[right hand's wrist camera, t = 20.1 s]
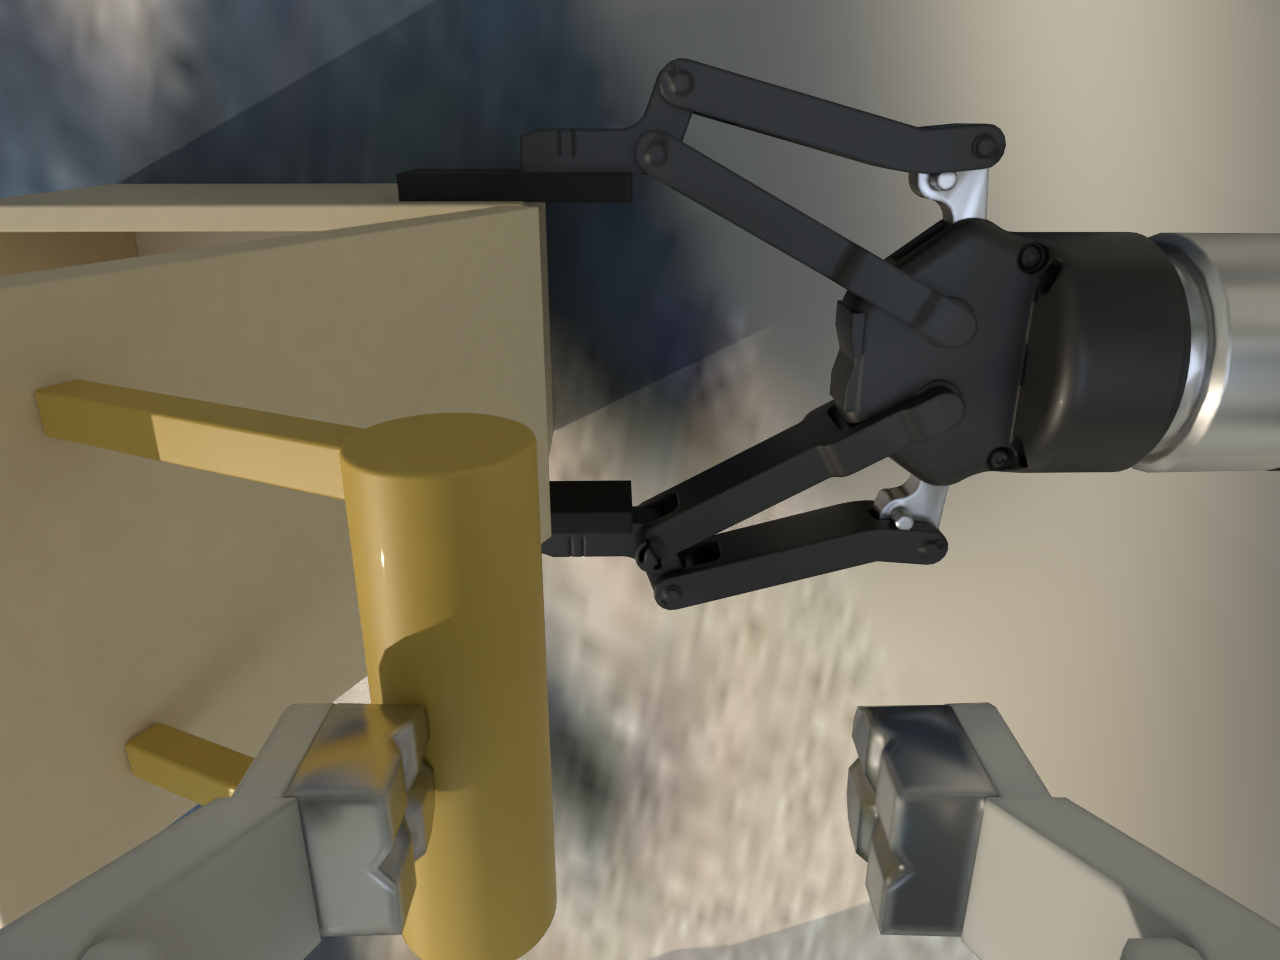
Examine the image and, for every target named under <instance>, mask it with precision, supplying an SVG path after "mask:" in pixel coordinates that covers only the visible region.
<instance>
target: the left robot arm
mask: <svg viewBox="0 0 1280 960" xmlns="http://www.w3.org/2000/svg"><path fill="white" fill-rule="evenodd" d="M692 113H693V114H696V115H700V116H703V117H706V118H710V119H713V120H717V121H720V122H724V123H727V124H731V125H734V126H738V127H741V128H745V129H748V130H751V131H755V132H758V133H762V134H765V135H769V136H772V137H776V138H779V139H782V140H786V141H789V142H793V143H796V144H800V145H803V146H807V147H810V148H814V149H817V150H820V151H824V152H827V153H831V154H835V155H838V156H841V157H845V158H848V159H852V160H855V161H858V162H862V163H865V164H869V165H873V166H877V167H882V168H887V169H892V170H898V171H904V172H909V185H910V187H911V190H912V191H913V192H914V193H915V194H916V195H918V196H920V197H924V198H927V199H932V200H934V201H936V202H937V203H938V204H939V205H940V207H941V209H942V213H943V219H942V220H940V221H939V222H937V223H936V224H934V225H933V226H931V227H930V228H929V229H927V230H926V231H924V232H923V233H921V234H920V235H919V236H917V237H916V238H914V239H913V240H911V241H910V242H908V243H907V244H906V245H904V246H903V247H901V248H900V249H898V250H897V251H895V252H894V253H893V254H891V255H890V256H888V257H887V258H885V259H884V260H883V259H881V258H879V257H878V256H876V255H874V254H873V253H871V252H869V251H867V250H866V249H864V248H862V247H860V246H859V245H857V244H855V243H853V242H852V241H850V240H848V239H846V238H845V237H843V236H841V235H840V234H838V233H836V232H835V231H833V230H831V229H830V228H828V227H826V226H824V225H823V224H821V223H819V222H818V221H816V220H814V219H813V218H811V217H809V216H807V215H806V214H804V213H802V212H801V211H799V210H797V209H796V208H794V207H792V206H790V205H789V204H787V203H785V202H784V201H782V200H780V199H779V198H777V197H775V196H773V195H772V194H770V193H768V192H767V191H765V190H763V189H761V188H760V187H758V186H756V185H755V184H753V183H751V182H750V181H748V180H746V179H744V178H743V177H741V176H739V175H738V174H736V173H734V172H733V171H731V170H729V169H727V168H726V167H724V166H722V165H721V164H719V163H717V162H716V161H714V160H712V159H710V158H709V157H707V156H705V155H704V154H702V153H700V152H699V151H697V150H695V149H693V148H692V147H690V146H688V145H687V144H685V143H683V142H682V141H683V138H684V135H685V132H686V130H687V127H688V124H689V121H690V118H691V116H692ZM1005 146H1006V142H1005V136H1004V134H1003V132H1002V131H1001V129H1000V128H998V127H996V126H995V125H992V124H959V123H955V124H944V125H934V126H923V127H915V126H912V125H908V124H905V123H902V122H898V121H895V120H891V119H888V118H885V117H881V116H878V115H875V114H871V113H868V112H864V111H861V110H858V109H854V108H851V107H848V106H844V105H841V104H838V103H834V102H831V101H828V100H824V99H821V98H817V97H814V96H811V95H807V94H804V93H801V92H797V91H794V90H790V89H787V88H784V87H780V86H777V85H774V84H770V83H767V82H764V81H760V80H757V79H753V78H750V77H747V76H743V75H740V74H737V73H733V72H730V71H726V70H723V69H720V68H716V67H713V66H709V65H706V64H703V63H700V62H696V61H693V60H689V59H682V58H678V59H675V60H673V61H670V62H669V63H668V64H667V65H666V66H665V67H664V68H663V69H662V70H661V71H660V72H659V74H658V77H657V79H656V82H655V85H654V88H653V91H652V94H651V97H650V100H649V103H648V106H647V109H646V111H645V113H644V115H643V117H642V118H641V119H640V121H639V122H637V123H636V124H635V125H633V126H631V127H629V128H624V129H537V130H534V131H532V132H530V133H527V134H525V135H523V136H520V152H521V169H414V170H410V171H406V172H402V173H398V174H397V185H398V196H399V202H428V201H523V202H626V203H632V175H650V176H651V177H653V178H655V179H657V180H658V181H660V182H662V183H664V184H665V185H667V186H669V187H671V188H672V189H674V190H676V191H678V192H679V193H681V194H683V195H685V196H686V197H688V198H690V199H692V200H693V201H695V202H697V203H698V204H700V205H702V206H704V207H705V208H707V209H709V210H711V211H712V212H714V213H716V214H718V215H719V216H721V217H723V218H725V219H726V220H728V221H730V222H732V223H733V224H735V225H737V226H738V227H740V228H742V229H744V230H745V231H747V232H749V233H751V234H752V235H754V236H756V237H758V238H759V239H761V240H763V241H765V242H766V243H768V244H770V245H772V246H773V247H775V248H777V249H779V250H780V251H782V252H784V253H786V254H787V255H789V256H791V257H793V258H794V259H796V260H798V261H799V262H801V263H803V264H805V265H806V266H808V267H810V268H812V269H813V270H815V271H817V272H819V273H820V274H822V275H824V276H826V277H827V278H829V279H831V280H832V281H834V282H836V283H837V284H839V285H840V286H842V287H844V288H845V289H847V292H846V294H845V296H844V298H843V300H842V301H840V300H839V301H837V312H836V329H837V335H838V340H839V345H840V349H839V352H838V355H837V358H836V361H835V363H834V366H833V369H832V373H831V385H830V395H831V396H832V397H833V398H834V400H832V401H830V402H828V403H826V404H824V405H822V406H820V407H818V408H816V409H814V410H813V411H811V412H810V413H808V414H807V415H806V416H805V418H804V419H803V420H802V421H801V422H800V423H798V424H796V425H794V426H792V427H790V428H789V429H787V430H785V431H783V432H781V433H779V434H777V435H775V436H773V437H771V438H769V439H767V440H765V441H763V442H761V443H759V444H757V445H755V446H753V447H751V448H749V449H747V450H745V451H743V452H741V453H739V454H737V455H735V456H733V457H731V458H729V459H727V460H725V461H723V462H721V463H720V464H718V465H716V466H714V467H712V468H710V469H708V470H706V471H704V472H702V473H700V474H698V475H696V476H694V477H692V478H690V479H688V480H686V481H684V482H682V483H680V484H678V485H676V486H674V487H672V488H670V489H668V490H666V491H664V492H662V493H660V494H658V495H656V496H654V497H652V498H650V499H649V500H647V501H645V502H643V503H641V504H640V505H639V506H632V494H631V481H549V488H550V513H551V537H550V538H548V539H547V540H546V541H544V542H543V543H542V544H541V553H543V554H546V555H549V556H552V557H569V556H572V557H582V556H584V557H590V556H626V557H631V558H634V559H636V562H637V565H638V566H639V567H640V568H641V569H642V570H644V571H646V573H647V575H648V578H649V580H650V583H651V585H652V588H653V590H654V596H655V600H656V602H657V604H658V605H660V606H661V607H662V608H664V609H668V610H676V609H681V608H685V607H689V606H693V605H697V604H701V603H705V602H710V601H714V600H718V599H722V598H726V597H730V596H734V595H739V594H743V593H747V592H751V591H755V590H759V589H763V588H768V587H772V586H776V585H780V584H784V583H788V582H792V581H797V580H801V579H805V578H809V577H813V576H817V575H821V574H826V573H830V572H834V571H838V570H842V569H846V568H850V567H855V566H859V565H863V564H867V563H871V562H875V561H883V562H897V563H910V564H924V565H928V564H934V563H936V562H938V561H940V560H941V559H942V558H943V557H944V556H945V555H946V553H947V550H948V542H947V540H946V538H945V537H944V535H943V534H942V533H941V532H940V530H939V524H940V520H941V516H942V511H943V507H944V503H945V499H946V495H947V490H948V486H949V485H952V484H955V483H957V482H959V481H961V480H963V479H965V478H967V477H969V476H972V475H975V474H978V473H981V472H986V471H1001V472H1017V473H1050V472H1051V473H1053V472H1118V471H1122V470H1125V469H1128V468H1130V467H1132V468H1133V469H1136V470H1140V471H1144V472H1194V471H1244V470H1267V471H1280V234H1264V233H1159V234H1156V235H1153V236H1151V237H1148V238H1147V237H1145V236H1144V235H1141V234H1138V233H1132V232H1009V231H1006V230H1003V229H1002V228H1000V227H999V226H997V225H996V224H994V223H992V222H991V221H988V220H986V215H987V195H988V176H989V168H990V167H992V166H993V165H995V164H996V163H997V162H998V161H999V160H1000V159H1001V157H1002V155H1003V154H1004V150H1005ZM886 457H889V458H891V459H892V460H893V461H895V462H896V463H898V464H899V465H900V466H902V467H903V468H904V469H906V470H907V471H908V472H910V473H911V475H910V478H909V479H908V480H907V482H905V483H904V484H903V485H901V486H899V487H895V488H890V489H882V490H880V491H879V492H878V494H877V497H876V498H875V501H871V500H864V501H853V502H847V503H842V504H837V505H833V506H829V507H825V508H821V509H817V510H813V511H809V512H805V513H801V514H797V515H793V516H789V517H785V518H781V519H777V520H773V521H768V522H764V523H760V524H756V525H752V526H748V527H744V528H740V529H736V530H732V531H728V532H724V533H720V534H717V533H719V532H721V531H723V530H725V529H727V528H729V527H731V526H733V525H735V524H737V523H739V522H741V521H743V520H745V519H747V518H749V517H751V516H753V515H755V514H757V513H759V512H761V511H763V510H765V509H767V508H769V507H771V506H773V505H775V504H777V503H780V502H782V501H784V500H786V499H788V498H790V497H792V496H794V495H796V494H798V493H800V492H802V491H804V490H806V489H808V488H810V487H812V486H814V485H816V484H818V483H820V482H822V481H824V480H826V479H828V478H831V477H845V476H848V475H851V474H854V473H856V472H858V471H860V470H862V469H864V468H866V467H868V466H870V465H872V464H874V463H876V462H878V461H880V460H882V459H884V458H886ZM715 534H716V535H715Z"/></svg>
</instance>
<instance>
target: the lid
mask: <svg viewBox="0 0 1280 960" xmlns="http://www.w3.org/2000/svg"><path fill="white" fill-rule="evenodd" d="M550 537H551V513H550V488H549V462H548V436H547V411H546V385H545V359H544V333H543V308H542V282H541V256H540V231H539V209H538V207H527V206H504V205H503V206H495V207H488V208H481V209H474V210H467V211H460V212H453V213H446V214H439V215H432V216H425V217H417V218H410V219H403V220H396V221H389V222H382V223H375V224H368V225H361V226H354V227H346V228H339V229H332V230H325V231H318V232H311V233H304V234H297V235H290V236H283V237H276V238H268V239H261V240H254V241H247V242H240V243H233V244H226V245H219V246H212V247H205V248H197V249H190V250H183V251H176V252H169V253H162V254H155V255H148V256H141V257H134V258H127V259H119V260H112V261H105V262H98V263H91V264H84V265H77V266H70V267H63V268H56V269H48V270H41V271H34V272H27V273H20V274H13V275H6V276H0V929H1V928H3V927H5V926H6V925H8V924H9V923H11V922H13V921H14V920H16V919H18V918H19V917H21V916H23V915H24V914H26V913H28V912H29V911H31V910H33V909H34V908H36V907H38V906H39V905H41V904H42V903H44V902H46V901H47V900H49V899H51V898H52V897H54V896H56V895H57V894H59V893H61V892H62V891H64V890H66V889H67V888H69V887H71V886H72V885H74V884H75V883H77V882H79V881H80V880H82V879H84V878H85V877H87V876H89V875H90V874H92V873H94V872H95V871H97V870H99V869H100V868H102V867H104V866H105V865H107V864H108V863H110V862H112V861H113V860H115V859H117V858H118V857H120V856H122V855H123V854H125V853H127V852H128V851H130V850H132V849H133V848H135V847H136V846H138V845H140V844H141V843H143V842H145V841H146V840H148V839H150V838H151V837H153V836H155V835H156V834H158V833H160V832H161V831H163V830H164V829H165V828H167V827H168V826H169V825H170V824H172V823H173V822H174V821H176V820H177V819H178V818H180V817H181V816H182V815H184V814H185V813H186V812H188V811H189V810H190V809H192V808H193V807H194V806H196V805H197V804H201V805H203V806H204V805H206V804H207V803H209V802H211V801H212V800H214V799H216V798H229V797H231V796H232V794H233V793H234V791H235V789H236V788H237V786H238V785H239V783H240V781H241V780H242V778H243V776H244V775H245V773H246V771H247V770H248V768H249V767H250V765H251V763H252V762H253V760H254V758H255V757H256V755H257V753H258V752H259V750H260V749H261V747H262V745H263V744H264V742H265V740H266V739H267V737H268V735H269V734H270V732H271V731H272V729H273V727H274V726H275V724H276V722H277V721H278V719H279V717H280V716H281V714H282V713H283V711H284V710H285V709H286V708H287V707H288V706H290V705H292V704H294V703H332V702H333V701H334V700H336V699H337V698H338V697H340V696H341V695H342V694H344V693H345V692H346V691H347V690H349V689H350V688H351V687H353V686H354V685H355V684H357V683H358V682H359V681H361V680H362V679H363V678H365V677H366V676H367V675H368V682H369V690H370V697H371V704H396V705H423V707H424V708H425V710H426V711H427V716H428V724H429V731H430V738H429V741H428V744H427V747H426V750H425V753H424V756H423V757H424V759H425V760H426V761H427V762H428V763H429V764H430V765H431V766H432V767H433V768H434V779H435V811H434V818H433V826H432V833H431V837H430V840H429V844H428V848H427V851H426V853H425V854H424V855H423V856H422V857H421V858H419V859H418V860H417V861H416V862H415V872H416V881H417V886H416V889H415V892H414V896H413V899H412V902H411V906H410V909H409V912H408V916H407V919H406V922H405V926H404V929H403V932H402V935H403V938H404V940H405V942H406V944H407V945H408V947H409V948H410V949H411V951H412V952H413V953H414V954H415V955H416V956H417V957H418V958H420V959H421V960H516V959H518V958H520V957H521V956H523V955H524V954H526V953H527V952H528V951H529V950H531V949H532V948H533V947H534V946H535V945H536V944H537V943H538V942H539V941H540V939H541V938H542V937H543V936H544V934H545V933H546V931H547V929H548V928H549V926H550V924H551V922H552V919H553V917H554V913H555V909H556V901H557V896H556V874H555V851H554V828H553V805H552V782H551V759H550V736H549V713H548V691H547V668H546V645H545V622H544V599H543V576H542V553H541V544H542V543H543V542H544V541H546V540H547V539H548V538H550Z"/></svg>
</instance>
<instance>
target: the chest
mask: <svg viewBox="0 0 1280 960" xmlns="http://www.w3.org/2000/svg"><path fill="white" fill-rule="evenodd" d="M503 205H504V206H527V207H538V209H539V231H540V256H541V282H542V308H543V333H544V359H545V385H546V411H547V436H548V459H549V454H550V448H551V443H552V437H553V432H554V429H553V402H552V374H551V346H550V319H549V291H548V264H547V236H546V209H545V202H523V201H428V202H399V196H398V185H397V183H323V184H110V185H102V186H95V187H87V188H79V189H71V190H63V191H55V192H47V193H40V194H32V195H24V196H16V197H8V198H0V276H6V275H13V274H20V273H27V272H34V271H41V270H48V269H56V268H63V267H70V266H77V265H84V264H91V263H98V262H105V261H112V260H119V259H127V258H134V257H141V256H148V255H155V254H162V253H169V252H176V251H183V250H190V249H197V248H205V247H212V246H219V245H226V244H233V243H240V242H247V241H254V240H261V239H268V238H276V237H283V236H290V235H297V234H304V233H311V232H318V231H325V230H332V229H339V228H346V227H354V226H361V225H368V224H375V223H382V222H389V221H396V220H403V219H410V218H417V217H425V216H432V215H439V214H446V213H453V212H460V211H467V210H474V209H481V208H488V207H495V206H503Z"/></svg>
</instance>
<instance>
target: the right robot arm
mask: <svg viewBox="0 0 1280 960" xmlns="http://www.w3.org/2000/svg"><path fill="white" fill-rule="evenodd" d="M852 737H853V740H854V743H855V746H856V749H857V752H858V755H859V758H858V759H857V760H856V761H855V762H854V763H853V764H852V765H851V766H850V767H849V770H848V784H847V806H848V820H849V826H850V831H851V836H852V840H853V843H854V847H855V851H856V853H857V854H858V855H859V856H860V857H862V858H863V859H864V860H865V861H866V862H868V866H867V875H866V884H865V885H866V888H867V891H868V894H869V898H870V901H871V904H872V908H873V911H874V914H875V917H876V921H877V924H878V927H879V930H880V934H883V935H919V936H954V937H962V938H961V941H962V942H963V943H964V944H965V945H966V946H967V947H968V948H969V949H970V950H971V951H972V952H973V953H974V954H975V955H976V956H977V957H978V958H979V959H980V960H1280V927H1278V926H1276V925H1275V924H1273V923H1271V922H1270V921H1268V920H1266V919H1265V918H1263V917H1262V916H1260V915H1258V914H1257V913H1255V912H1253V911H1252V910H1250V909H1248V908H1247V907H1245V906H1243V905H1242V904H1240V903H1238V902H1237V901H1235V900H1233V899H1232V898H1230V897H1229V896H1227V895H1225V894H1224V893H1222V892H1220V891H1219V890H1217V889H1215V888H1214V887H1212V886H1210V885H1209V884H1207V883H1205V882H1204V881H1202V880H1201V879H1199V878H1197V877H1196V876H1194V875H1192V874H1191V873H1189V872H1187V871H1186V870H1184V869H1182V868H1181V867H1179V866H1177V865H1176V864H1174V863H1173V862H1171V861H1169V860H1168V859H1166V858H1164V857H1163V856H1161V855H1159V854H1158V853H1156V852H1154V851H1153V850H1151V849H1149V848H1148V847H1146V846H1145V845H1143V844H1141V843H1140V842H1138V841H1136V840H1135V839H1133V838H1131V837H1130V836H1128V835H1126V834H1125V833H1123V832H1121V831H1120V830H1118V829H1116V828H1115V827H1113V826H1112V825H1110V824H1108V823H1107V822H1105V821H1103V820H1102V819H1100V818H1098V817H1097V816H1095V815H1093V814H1092V813H1090V812H1088V811H1087V810H1085V809H1084V808H1082V807H1080V806H1079V805H1077V804H1075V803H1074V802H1072V801H1070V800H1069V799H1067V798H1054V797H1051V795H1050V793H1049V792H1048V790H1047V789H1046V787H1045V785H1044V784H1043V782H1042V781H1041V779H1040V777H1039V776H1038V774H1037V772H1036V771H1035V769H1034V768H1033V766H1032V765H1031V763H1030V761H1029V760H1028V758H1027V756H1026V755H1025V753H1024V752H1023V750H1022V748H1021V747H1020V745H1019V744H1018V742H1017V740H1016V739H1015V737H1014V736H1013V734H1012V732H1011V731H1010V729H1009V728H1008V726H1007V724H1006V723H1005V721H1004V720H1003V718H1002V716H1001V715H1000V713H999V712H998V710H997V708H996V707H995V706H993V705H992V704H990V703H958V704H945V705H907V706H858V707H857V710H856V713H855V716H854V723H853V732H852ZM429 738H430V731H429V724H428V716H427V711H426V710H425V708H424V707H423V705H396V704H350V703H338V704H333V703H294V704H292V705H290V706H288V707H287V708H286V709H285V710H284V711H283V713H282V714H281V716H280V717H279V719H278V721H277V722H276V724H275V726H274V727H273V729H272V731H271V732H270V734H269V735H268V737H267V739H266V740H265V742H264V744H263V745H262V747H261V749H260V750H259V752H258V753H257V755H256V757H255V758H254V760H253V762H252V763H251V765H250V767H249V768H248V770H247V771H246V773H245V775H244V776H243V778H242V780H241V781H240V783H239V785H238V786H237V788H236V789H235V791H234V793H233V794H232V796H231V797H229V798H216V799H214V800H212V801H211V802H209V803H207V804H206V805H204V806H202V807H201V808H199V809H198V810H196V811H194V812H193V813H191V814H189V815H188V816H186V817H184V818H183V819H181V820H179V821H178V822H176V823H174V824H173V825H171V826H169V827H168V828H166V829H165V830H163V831H161V832H160V833H158V834H156V835H155V836H153V837H151V838H150V839H148V840H146V841H145V842H143V843H141V844H140V845H138V846H136V847H135V848H133V849H132V850H130V851H128V852H127V853H125V854H123V855H122V856H120V857H118V858H117V859H115V860H113V861H112V862H110V863H108V864H107V865H105V866H104V867H102V868H100V869H99V870H97V871H95V872H94V873H92V874H90V875H89V876H87V877H85V878H84V879H82V880H80V881H79V882H77V883H75V884H74V885H72V886H71V887H69V888H67V889H66V890H64V891H62V892H61V893H59V894H57V895H56V896H54V897H52V898H51V899H49V900H47V901H46V902H44V903H42V904H41V905H39V906H38V907H36V908H34V909H33V910H31V911H29V912H28V913H26V914H24V915H23V916H21V917H19V918H18V919H16V920H14V921H13V922H11V923H9V924H8V925H6V926H5V927H3V928H1V929H0V960H303V959H304V958H305V957H306V956H307V955H308V954H309V953H310V952H311V951H312V950H313V949H314V948H315V947H316V946H317V945H318V944H319V943H320V942H321V937H328V936H362V935H397V934H402V932H403V929H404V926H405V922H406V919H407V916H408V912H409V909H410V906H411V902H412V899H413V896H414V892H415V889H416V886H417V881H416V872H415V862H416V861H417V860H418V859H419V858H421V857H422V856H423V855H424V854H425V853H426V851H427V848H428V844H429V840H430V837H431V833H432V826H433V818H434V811H435V779H434V768H433V767H432V766H431V765H430V764H429V763H428V762H427V761H426V760H425V759H424V757H423V756H424V753H425V750H426V747H427V744H428V741H429Z"/></svg>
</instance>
